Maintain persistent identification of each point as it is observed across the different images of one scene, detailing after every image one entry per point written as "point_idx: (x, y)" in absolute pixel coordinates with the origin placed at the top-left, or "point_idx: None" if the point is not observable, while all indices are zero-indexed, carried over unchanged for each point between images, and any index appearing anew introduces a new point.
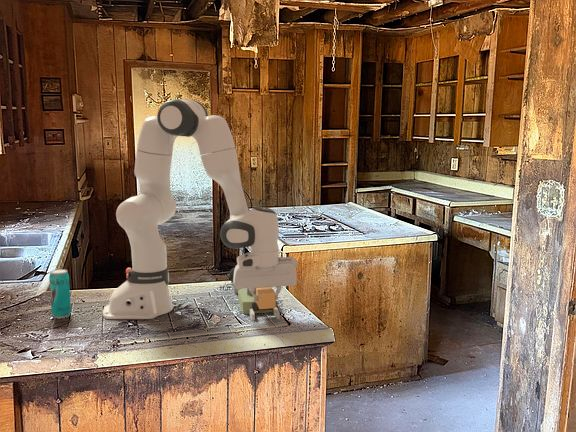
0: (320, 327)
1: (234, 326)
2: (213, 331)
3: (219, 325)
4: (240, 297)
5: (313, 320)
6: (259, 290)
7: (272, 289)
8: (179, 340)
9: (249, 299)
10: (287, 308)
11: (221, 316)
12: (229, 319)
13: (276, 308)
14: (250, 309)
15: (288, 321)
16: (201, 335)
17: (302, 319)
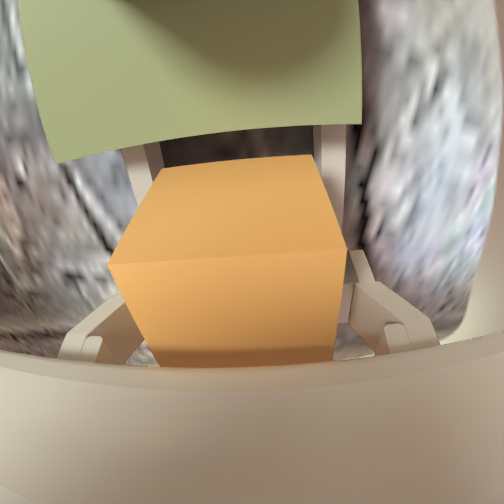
0: (452, 317)
1: (100, 290)
2: (50, 317)
3: (42, 274)
4: (25, 9)
5: (471, 258)
6: (175, 360)
7: (327, 350)
8: (9, 345)
9: (93, 86)
10: (425, 49)
11: (7, 172)
12: (51, 212)
13: (339, 164)
14: (133, 171)
15: (367, 260)
16: (35, 333)
17: (439, 243)
